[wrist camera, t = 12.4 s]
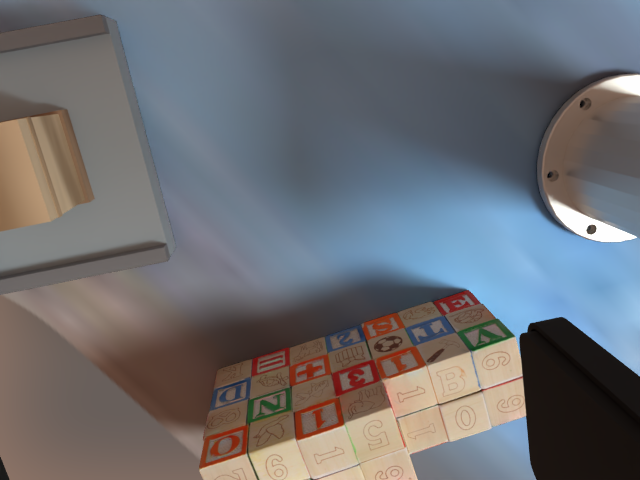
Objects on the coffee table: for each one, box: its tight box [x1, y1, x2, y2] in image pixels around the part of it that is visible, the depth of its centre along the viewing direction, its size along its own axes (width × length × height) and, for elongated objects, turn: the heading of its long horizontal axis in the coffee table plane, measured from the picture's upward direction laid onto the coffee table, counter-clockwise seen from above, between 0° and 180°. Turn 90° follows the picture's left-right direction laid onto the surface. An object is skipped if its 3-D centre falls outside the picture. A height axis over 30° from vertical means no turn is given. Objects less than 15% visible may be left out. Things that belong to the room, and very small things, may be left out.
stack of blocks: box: [199, 290, 526, 480], centre depth 40 cm, size 21×6×12 cm, turn 108°
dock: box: [0, 15, 176, 295], centre depth 37 cm, size 14×16×6 cm
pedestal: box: [0, 109, 95, 232], centre depth 33 cm, size 6×6×7 cm
